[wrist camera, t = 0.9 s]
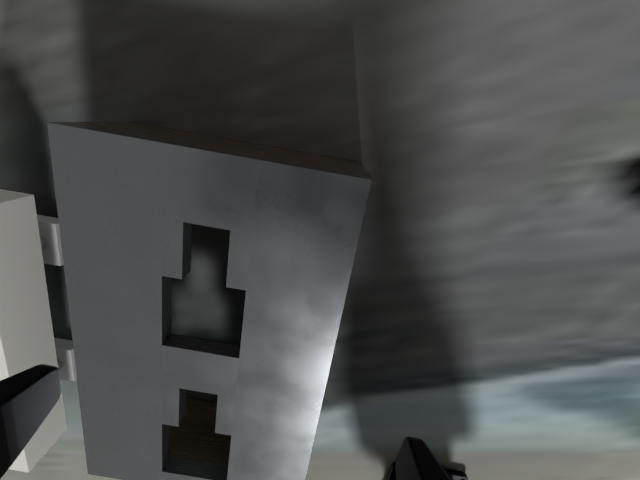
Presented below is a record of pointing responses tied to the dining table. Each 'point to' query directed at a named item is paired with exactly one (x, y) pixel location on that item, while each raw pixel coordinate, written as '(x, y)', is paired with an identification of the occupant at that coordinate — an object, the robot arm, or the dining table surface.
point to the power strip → (30, 309)
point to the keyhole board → (175, 262)
